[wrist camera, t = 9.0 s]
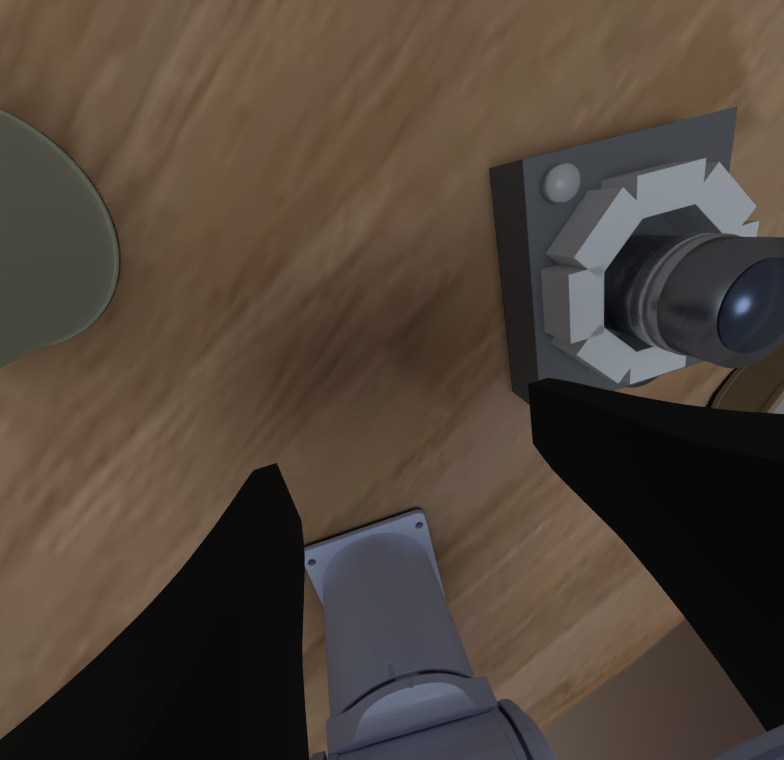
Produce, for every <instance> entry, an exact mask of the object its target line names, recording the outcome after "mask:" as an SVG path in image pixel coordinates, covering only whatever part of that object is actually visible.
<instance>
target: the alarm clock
mask: <svg viewBox="0 0 784 760" xmlns="http://www.w3.org/2000/svg"><path fill="white" fill-rule="evenodd" d="M711 408H716V409H724V410H735V411H746V412H761V413H777V414H784V343H783V344H782V345H781V346H780V347H779V348H778V349H776V350H775V351H774V352H773V353H771V354H770V355H769V356H767V357H766V358H764V359H762V360H760V361H759V362H757V363H754V364H752V365H749V366H746V367H741V368H738V369H737V370H736V371H734V372H733V373H732V375H731V376H730V377H729V379H728V380H727V382H726V383H725V384H724V386H723V387H722V388H721V390H720V391H719V392H718V394H717V395H716V397H715V399H714V402H713V404H712V406H711Z"/></svg>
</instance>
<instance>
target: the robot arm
mask: <svg viewBox="0 0 784 760" xmlns="http://www.w3.org/2000/svg"><path fill="white" fill-rule="evenodd" d="M528 391H529V403H530V414H531V426H532V438H533V444H534V446H535V447H536V448H537V450H538V451H539V452H540V454H541V455H542V457H543V458H544V459H545V460H546V462H547V463H548V464H549V466H550V467H551V468H552V469H553V471H554V472H555V473H556V474H557V475H558V476H559V477H560V478H561V479H562V480H563V481H564V482H565V483H566V484H567V485H568V486H569V487H570V488H571V489H572V490H573V491H574V492H575V493H576V494H577V495H578V496H579V497H580V498H581V499H582V500H583V501H584V502H585V503H586V504H587V505H588V506H589V507H590V508H591V509H592V510H593V511H594V512H595V513H596V514H597V515H598V516H599V517H600V518H601V519H602V520H603V521H604V522H605V523H606V524H607V525H608V526H609V527H610V528H611V529H612V530H613V531H614V532H615V533H616V534H617V535H618V536H619V537H620V538H621V539H622V540H623V541H624V542H625V544H626V545H627V546H628V547H629V548H630V549H631V551H632V552H633V553H634V554H635V555H636V557H637V558H638V559H639V560H640V561H641V563H642V564H643V565H644V566H645V568H646V569H647V570H648V571H649V572H650V574H651V575H652V576H653V577H654V578H655V580H656V581H657V582H658V583H659V585H660V586H661V587H662V589H663V590H664V591H665V592H666V594H667V595H668V596H669V597H670V599H671V600H672V601H673V603H674V604H675V605H676V606H677V608H678V609H679V610H680V611H681V613H682V614H683V615H684V617H685V618H686V619H687V621H688V622H689V623H690V625H691V626H692V627H693V629H694V630H695V631H696V633H697V634H698V635H699V637H700V638H701V639H702V641H703V642H704V643H705V645H706V646H707V648H708V649H709V650H710V652H711V653H712V654H713V655H714V657H715V658H716V659H717V661H718V662H719V664H720V665H721V667H722V668H723V669H724V670H725V672H726V674H727V675H728V676H729V678H730V679H731V680H732V682H733V684H734V685H735V687H736V688H737V689H738V691H739V692H740V694H741V695H742V697H743V698H744V699H745V701H746V702H747V704H748V705H749V706H750V708H751V709H752V711H753V712H754V714H755V715H756V716H757V718H758V719H759V721H760V722H761V724H762V725H763V727H764V728H765V730H766V731H767V732H766V733H763V734H761V735H759V736H757V737H754V738H752V739H750V740H748V741H746V742H743V743H741V744H739V745H737V746H735V747H732V748H730V749H728V750H726V751H723V752H721V753H720V754H717V755H715V756H712V757H710V758H708V759H706V760H784V414H777V413H761V412H746V411H735V410H724V409H716V408H708V407H699V406H691V405H684V404H678V403H671V402H666V401H660V400H655V399H649V398H644V397H639V396H634V395H629V394H624V393H620V392H615V391H611V390H606V389H602V388H597V387H593V386H589V385H584V384H580V383H575V382H570V381H566V380H560V379H554V378H545V379H542V380H539V381H536V382H533V383H529V384H528ZM418 522H420V523H419V524H416V523H418ZM310 559H314V560H312V561H310ZM305 568H306V570H307V572H308V574H309V577H310V579H311V581H312V583H313V585H314V588H315V590H316V592H317V594H318V596H319V599H320V601H321V603H322V605H323V607H324V622H325V639H326V655H327V671H328V687H329V703H330V718H329V719H328V720H327V721H326V730H327V749H328V759H327V756H326V752H325V751H322V752H317V753H314V754H312V756H311V757H310V760H556V758H555V756H554V754H553V752H552V750H551V748H550V746H549V744H548V742H547V741H546V739H545V737H544V735H543V734H542V732H541V731H540V729H539V728H538V726H537V725H536V723H535V722H534V721H533V720H532V719H531V718H530V716H528V715H527V714H526V713H525V712H523V711H522V710H521V709H520V708H519V706H518V705H516V704H515V703H514V702H513V701H511V700H509V699H503V700H500V701H496V698H495V696H494V693H493V691H492V689H491V686H490V684H489V681H488V679H487V677H485V676H484V677H479V678H475V676H474V673H473V671H472V668H471V665H470V663H469V660H468V657H467V655H466V652H465V650H464V647H463V644H462V642H461V639H460V637H459V634H458V631H457V629H456V626H455V624H454V621H453V618H452V616H451V613H450V610H449V608H448V605H447V603H446V599H445V595H444V591H443V587H442V583H441V579H440V575H439V571H438V567H437V563H436V559H435V555H434V551H433V547H432V543H431V539H430V535H429V531H428V527H427V523H426V519H425V515H424V513H423V511H421V510H418V509H417V510H413V511H410V512H407V513H404V514H401V515H398V516H395V517H393V518H390V519H387V520H384V521H381V522H378V523H375V524H372V525H369V526H366V527H363V528H360V529H357V530H354V531H351V532H349V533H346V534H343V535H340V536H337V537H334V538H331V539H328V540H325V541H322V542H319V543H316V544H313V545H310V546H307V547H305V548H304V540H303V531H302V522H301V519H300V516H299V514H298V512H297V509H296V507H295V505H294V502H293V500H292V498H291V495H290V493H289V491H288V488H287V486H286V484H285V481H284V479H283V477H282V474H281V472H280V470H279V467H278V465H277V463H275V464H272V465H269V466H266V467H262V468H259V469H256V470H254V471H253V472H252V473H251V474H250V476H249V477H248V479H247V480H246V481H245V483H244V484H243V486H242V487H241V489H240V490H239V492H238V493H237V495H236V496H235V498H234V499H233V501H232V502H231V503H230V505H229V506H228V508H227V509H226V511H225V512H224V513H223V515H222V516H221V518H220V519H219V521H218V522H217V523H216V525H215V526H214V528H213V529H212V530H211V531H210V533H209V534H208V535H207V537H206V538H205V539H204V541H203V542H202V543H201V544H200V546H199V547H198V548H197V550H196V551H195V552H194V553H193V555H192V556H191V557H190V559H189V560H188V561H187V562H186V564H185V565H184V566H183V567H182V569H181V570H180V571H179V572H178V573H177V574H176V576H175V577H174V578H173V579H172V580H171V581H170V582H169V584H168V585H167V586H166V587H165V588H164V589H163V590H162V591H161V592H160V593H159V595H158V596H157V597H156V598H155V599H154V600H153V601H152V602H151V603H150V604H149V605H148V607H147V608H146V609H145V610H144V611H143V612H142V613H141V614H140V615H139V616H138V617H137V618H136V619H135V620H134V621H133V622H132V623H131V624H130V625H129V626H128V627H127V628H126V629H125V630H124V631H122V632H121V633H120V634H119V635H118V636H117V637H116V638H115V639H114V640H113V641H112V642H111V643H110V644H109V645H108V646H107V647H106V648H105V649H104V650H103V651H102V652H101V653H100V654H99V655H98V656H97V657H96V658H95V659H94V660H93V661H92V662H90V663H89V664H88V665H87V666H86V667H85V668H84V669H83V670H82V671H80V672H79V673H78V674H77V675H76V676H75V677H74V678H73V679H72V680H70V681H69V682H68V683H67V684H66V685H65V686H64V687H63V688H61V689H60V690H59V691H58V692H57V693H56V694H54V695H53V696H52V697H51V698H50V699H49V700H47V701H46V702H45V703H44V704H43V705H42V706H41V707H39V708H38V709H37V710H36V711H35V712H34V713H32V714H31V715H30V716H29V717H28V718H26V719H25V720H24V721H23V722H22V723H20V724H19V725H18V726H17V727H16V728H14V729H13V730H12V731H11V732H9V733H8V734H7V735H6V736H4V737H3V738H2V739H1V740H0V760H309V750H308V738H307V725H306V712H305V697H304V681H303V665H302V637H303V606H304V573H305Z"/></svg>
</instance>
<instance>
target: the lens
mask: <svg viewBox="0 0 784 760" xmlns="http://www.w3.org/2000/svg"><path fill="white" fill-rule="evenodd" d="M604 328H607V329H610V330H613V331H616V332H619V333H622V334H625V335H628V336H631V337H635V338H638V339H641V340H643V341H644V342H645V343H647V344H649V345H651V346H654V347H657V348H660V349H663V350H666V351H669V352H672V353H675V354H678V355H683V356H692V357H695V358H698V359H701V360H704V361H707V362H710V363H713V364H716V365H719V366H723V367H726V368H741V367H746V366H749V365H752V364H754V363H757V362H759V361H760V360H762V359H764V358H766V357H767V356H769V355H770V354H771V353H773V352H774V351H775V350H776V349H778V348H779V347H780V346H781V345H782V344H783V343H784V238H782V237H741V236H738V235H735V234H727V233H691V234H686V235H682V236H678V235H630V237H629V238H628V240H627V241H626V242H625V244H624V245H623V247H622V248H621V249H620V251H619V252H618V254H617V255H616V256H615V258H614V259H613V261H612V262H611V263H610V265H609V266H608V268H607V269H606V270H605V272H604Z"/></svg>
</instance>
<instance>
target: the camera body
mask: <svg viewBox="0 0 784 760" xmlns="http://www.w3.org/2000/svg"><path fill="white" fill-rule="evenodd" d="M736 113H737V107H734V108H730V109H726V110H722V111H718V112H714V113H710V114H706V115H702V116H698V117H693V118H689V119H685V120H681V121H677V122H673V123H669V124H665V125H661V126H657V127H653V128H649V129H645V130H641V131H637V132H633V133H629V134H625V135H621V136H617V137H613V138H609V139H604V140H600V141H596V142H592V143H588V144H584V145H580V146H576V147H572V148H568V149H564V150H560V151H556V152H552V153H548V154H544V155H540V156H536V157H532V158H528V159H524V160H520V161H516V162H512V163H508V164H505V165H501V166H497V167H493V168H490V177H491V187H492V196H493V206H494V215H495V225H496V235H497V244H498V254H499V263H500V273H501V282H502V292H503V301H504V311H505V321H506V330H507V340H508V349H509V359H510V368H511V378H512V387H513V392H514V393H515V394H517V395H518V396H519V397H520V398H522V399H523V400H524V401H525V402H526V403H528V404H529V405H530V403H529V391H528V384H529V383H533V382H536V381H539V380H542V379H545V378H554V379H560V380H566V381H570V382H575V383H580V384H584V385H589V386H593V387H597V388H602V389H606V390H611V391H614V390H617V389H620V388H623V387H626V386H629V385H632V384H636V383H639V382H642V381H645V380H648V379H651V378H654V377H657V376H660V375H663V374H666V373H669V372H672V371H676V370H679V369H682V368H685V367H688V366H691V365H694V364H697V363H700V362H703V361H704V360H701V359H698V358H695V357H692V356H683V355H678V354H675V353H672V352H669V351H666V350H663V349H660V348H657V347H654V346H651V345H649V344H647V343H645V342H644V341H643V340H641V339H638V338H635V337H631V336H628V335H625V334H622V333H619V332H616V331H613V330H610V329H607V328H604V272H605V270H606V269H607V268H608V266H609V265H610V263H611V262H612V261H613V259H614V258H615V256H616V255H617V254H618V252H619V251H620V249H621V248H622V247H623V245H624V244H625V242H626V241H627V240H628V238H629V237H630V235H678V236H682V235H686V234H691V233H727V234H735V235H738V236H741V237H757V231H758V225H759V221H746V219H747V218H748V217H749V215H750V214H751V213H752V212H753V210H754V209H755V208H756V205H755V204H754V203H753V202H752V201H751V199H750V198H749V197H748V196H747V195H746V193H745V192H744V191H743V190H742V188H741V187H740V186H739V185H738V184H737V182H736V181H735V180H734V179H733V178H732V176H731V175H730V174H729V169H730V161H731V153H732V145H733V137H734V129H735V121H736Z"/></svg>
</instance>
